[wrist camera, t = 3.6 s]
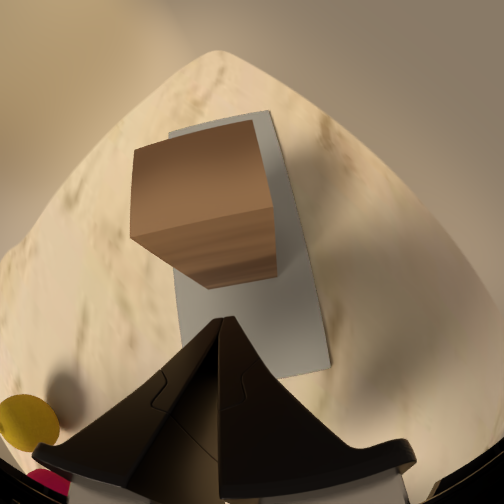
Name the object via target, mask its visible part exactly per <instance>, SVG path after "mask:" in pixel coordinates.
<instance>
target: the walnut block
mask: <svg viewBox="0 0 504 504" xmlns="http://www.w3.org/2000/svg"><path fill="white" fill-rule="evenodd" d="M130 238H131V239H132V240H134V241H135V242H137V243H138V244H140V245H141V246H142V247H144V248H145V249H147V250H148V251H150V252H151V253H153V254H154V255H156V256H157V257H159V258H160V259H162V260H163V261H165V262H166V263H168V264H169V265H171V266H172V267H174V268H175V269H177V270H178V271H180V272H181V273H183V274H184V275H186V276H187V277H189V278H191V279H192V280H194V281H195V282H197V283H198V284H200V285H202V286H203V287H205V288H206V289H208V290H209V289H215V288H221V287H227V286H232V285H238V284H243V283H249V282H254V281H260V280H265V279H270V278H276V277H277V258H276V241H275V225H274V210H273V203H272V199H271V195H270V190H269V186H268V182H267V177H266V173H265V169H264V165H263V161H262V156H261V152H260V148H259V144H258V140H257V136H256V132H255V128H254V124H253V120H246V121H241V122H236V123H231V124H226V125H222V126H217V127H213V128H209V129H204V130H200V131H196V132H192V133H189V134H185V135H181V136H178V137H174V138H171V139H167V140H164V141H161V142H157V143H154V144H151V145H148V146H145V147H142V148H139V149H136V150H134V160H133V171H132V186H131V206H130Z"/></svg>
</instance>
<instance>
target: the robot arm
mask: <svg viewBox="0 0 504 504" xmlns="http://www.w3.org/2000/svg"><path fill="white" fill-rule="evenodd" d="M32 458H33V459H34V460H35V461H37V462H38V463H39V464H41V465H42V466H44V467H46V468H47V469H49V470H51V471H52V472H54V473H56V474H57V475H59V476H61V477H63V478H64V479H66V480H68V481H70V487H69V491H68V496H65V495H63V494H61V493H58V492H56V491H54V490H52V489H50V488H48V487H46V486H44V485H42V484H41V483H39V482H37V481H35V480H34V479H32V478H30V477H28V476H27V475H25V474H23V473H22V472H20V471H19V470H17V469H16V468H14V467H13V466H11V465H10V464H8V463H7V462H5V461H4V460H3V459H1V458H0V504H225V502H227V503H230V504H410V502H409V498H408V495H407V491H406V488H405V485H404V481H403V478H402V474H403V473H405V472H406V471H407V470H408V469H410V468H411V467H412V466H413V465H414V464H415V463H416V462H417V459H416V456H415V454H414V451H413V449H412V447H411V445H410V443H409V442H408V440H406V439H403V438H401V439H394V440H390V441H387V442H384V443H380V444H377V445H375V446H372V447H368V448H363V449H357V448H353V447H350V446H349V445H347V444H346V443H345V442H343V441H342V440H341V439H340V438H339V437H338V436H336V435H335V434H334V433H333V432H332V431H331V430H330V429H329V428H327V427H326V426H325V425H324V424H323V423H322V422H321V421H320V420H319V419H317V418H316V417H315V416H314V415H313V414H312V413H311V412H310V411H309V410H308V409H307V408H306V407H305V406H304V405H302V404H301V403H300V402H299V401H298V400H297V399H296V398H295V397H294V396H293V395H292V394H291V393H290V392H289V391H288V390H287V389H286V388H285V387H284V386H283V385H282V384H281V383H280V382H279V381H278V380H277V379H276V378H275V377H274V376H273V374H272V373H271V372H270V371H269V369H268V368H267V366H266V365H265V364H264V362H263V360H262V359H261V358H260V356H259V355H258V353H257V351H256V350H255V348H254V347H253V345H252V343H251V342H250V340H249V339H248V337H247V335H246V334H245V332H244V330H243V329H242V327H241V326H240V324H239V322H238V321H237V319H236V317H235V316H227V317H224V318H223V317H221V318H214V319H212V320H211V321H210V322H209V323H208V324H207V325H206V326H205V327H204V328H203V329H202V330H201V331H200V332H199V333H198V334H197V335H196V336H195V337H194V338H193V339H192V340H191V341H189V342H188V343H187V344H186V345H185V346H184V347H183V348H182V349H181V350H180V351H179V352H178V353H177V354H176V355H175V356H174V357H173V358H172V359H171V360H170V361H168V362H167V363H166V364H165V365H164V366H163V367H162V368H161V370H158V371H157V372H156V373H155V374H154V375H153V376H152V377H151V378H150V379H149V380H147V381H146V382H145V383H144V384H143V385H142V386H140V387H139V388H138V389H137V390H135V391H134V392H133V393H131V394H130V395H129V396H127V397H126V398H125V399H123V400H122V401H121V402H119V403H118V404H117V405H115V406H114V407H113V408H111V409H110V410H109V411H107V412H106V413H105V414H103V415H102V416H101V417H99V418H98V419H96V420H95V421H94V422H92V423H91V424H90V425H88V426H87V427H85V428H84V429H83V430H81V431H80V432H78V433H77V434H76V435H74V436H73V437H71V438H70V439H68V440H67V441H66V442H64V443H62V444H60V445H56V446H53V445H49V444H47V443H43V442H39V443H38V445H37V446H36V447H35V449H34V451H33V453H32ZM420 504H504V437H503V438H502V439H501V440H500V441H499V442H497V443H496V444H495V445H494V446H492V447H491V448H490V449H488V450H487V451H486V452H484V453H483V454H481V455H480V456H478V457H477V458H475V459H474V460H472V461H471V462H469V463H468V464H466V465H465V466H463V467H462V468H460V469H458V470H457V471H455V472H453V473H452V474H450V475H448V476H446V477H444V478H443V479H441V480H439V481H437V482H436V483H435V485H434V486H433V488H432V490H431V492H430V494H429V496H428V498H427V499H426V501H424V502H422V503H420Z"/></svg>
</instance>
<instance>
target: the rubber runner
mask: <svg viewBox="0 0 504 504" xmlns="http://www.w3.org/2000/svg"><path fill="white" fill-rule="evenodd" d="M246 120H253V124H254V128H255V132H256V136H257V140H258V144H259V148H260V152H261V156H262V161H263V165H264V169H265V173H266V177H267V182H268V186H269V190H270V195H271V199H272V203H273V210H274V225H275V241H276V258H277V277H276V278H270V279H265V280H260V281H254V282H249V283H243V284H238V285H232V286H227V287H221V288H215V289H209V290H208V289H206V288H205V287H203V286H202V285H200V284H198V283H197V282H195V281H194V280H192V279H191V278H189V277H187V276H186V275H184V274H183V273H181V272H180V271H178V270H177V269H175V268H174V267H173V273H174V284H175V293H176V303H177V311H178V319H179V327H180V334H181V341H182V348H183V347H184V346H185V345H186V344H187V343H188V342H189V341H191V340H192V339H193V338H194V337H195V336H196V335H197V334H198V333H199V332H200V331H201V330H202V329H203V328H204V327H205V326H206V325H207V324H208V323H209V322H210V321H211V320H212V319H214V318H221V317H223V318H224V317H227V316H235V317H236V319H237V321H238V322H239V324H240V326H241V327H242V329H243V330H244V332H245V334H246V335H247V337H248V339H249V340H250V342H251V343H252V345H253V347H254V348H255V350H256V351H257V353H258V355H259V356H260V358H261V359H262V360H263V362H264V364H265V365H266V366H267V368H268V369H269V371H270V372H271V373H272V374H273V376H274V377H275V378H276V379H281V378H286V377H292V376H297V375H302V374H307V373H311V372H316V371H320V370H325V369H329V368H331V365H330V359H329V354H328V348H327V342H326V337H325V332H324V326H323V321H322V316H321V311H320V306H319V301H318V296H317V292H316V287H315V282H314V278H313V273H312V269H311V264H310V260H309V256H308V251H307V247H306V243H305V239H304V235H303V231H302V227H301V223H300V219H299V215H298V211H297V207H296V203H295V199H294V196H293V192H292V188H291V185H290V181H289V177H288V174H287V170H286V167H285V163H284V160H283V156H282V153H281V150H280V146H279V143H278V140H277V136H276V133H275V130H274V127H273V123H272V120H271V117H270V114H269V111H268V110H266V111H260V112H254V113H248V114H243V115H238V116H233V117H228V118H223V119H219V120H215V121H210V122H206V123H202V124H198V125H194V126H190V127H187V128H183V129H179V130H176V131H172V132H169V139H171V138H174V137H178V136H181V135H185V134H189V133H192V132H196V131H200V130H204V129H209V128H213V127H217V126H222V125H226V124H231V123H236V122H241V121H246Z"/></svg>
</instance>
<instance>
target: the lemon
mask: <svg viewBox="0 0 504 504" xmlns="http://www.w3.org/2000/svg"><path fill="white" fill-rule="evenodd" d="M59 432H60V427H59V422H58V419H57V416H56V414H55V412H54V411H53V409H52V408H51V407H50V406H49V405H48V404H47V403H46V402H45V401H43V400H42V399H40V398H38V397H35V396H32V395H27V394H22V395H14V396H11V397H9V398H7V399H5V400H4V401H3V402H2V403H1V404H0V433H1V434H2V436H3V437H4V438H5V440H6V441H7V442H8V443H10V444H11V445H12V446H13V447H15V448H17V449H19V450H21V451H25V452H33V451H34V449H35V447H36V446H37V445H38V443H39V442H43V443H47V444H49V445H54V444H55V443H56V441H57V439H58V437H59Z"/></svg>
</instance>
